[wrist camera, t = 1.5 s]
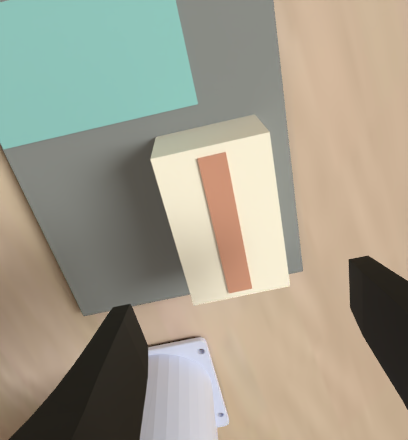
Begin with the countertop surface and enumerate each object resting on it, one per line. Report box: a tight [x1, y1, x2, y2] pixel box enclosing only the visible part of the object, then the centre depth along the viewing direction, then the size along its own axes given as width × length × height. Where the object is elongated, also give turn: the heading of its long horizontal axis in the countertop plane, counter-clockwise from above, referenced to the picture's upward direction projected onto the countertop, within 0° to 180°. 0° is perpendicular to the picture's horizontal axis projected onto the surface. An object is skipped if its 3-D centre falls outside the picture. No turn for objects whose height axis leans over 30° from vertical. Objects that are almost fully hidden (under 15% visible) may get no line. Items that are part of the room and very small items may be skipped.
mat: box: [0, 0, 303, 316], centre depth 19 cm, size 20×14×1 cm
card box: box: [150, 114, 290, 306], centre depth 18 cm, size 8×5×4 cm, turn 12°
